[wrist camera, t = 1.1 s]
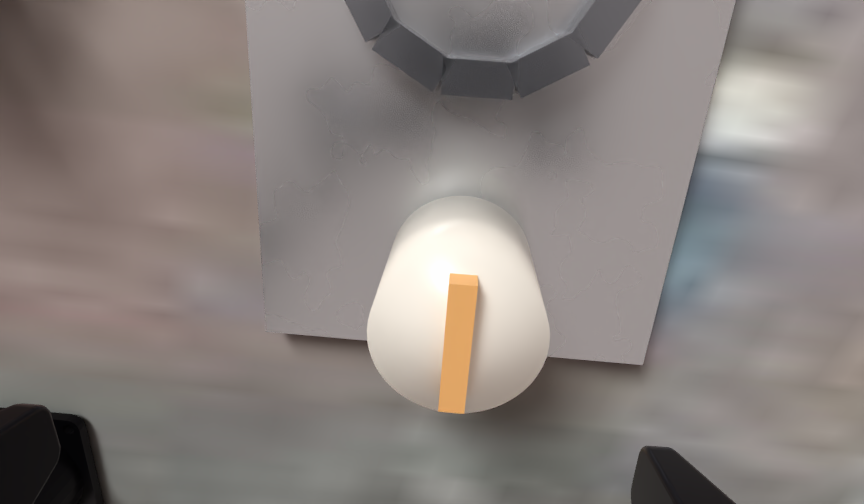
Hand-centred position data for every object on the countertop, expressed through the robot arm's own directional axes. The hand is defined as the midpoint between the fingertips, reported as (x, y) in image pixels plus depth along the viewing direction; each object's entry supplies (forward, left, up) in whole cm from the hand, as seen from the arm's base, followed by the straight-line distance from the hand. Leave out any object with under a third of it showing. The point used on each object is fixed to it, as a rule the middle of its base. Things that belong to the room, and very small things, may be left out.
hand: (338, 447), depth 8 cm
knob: (-2, -2, -11) cm, 11 cm away
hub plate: (+4, -2, -12) cm, 13 cm away
